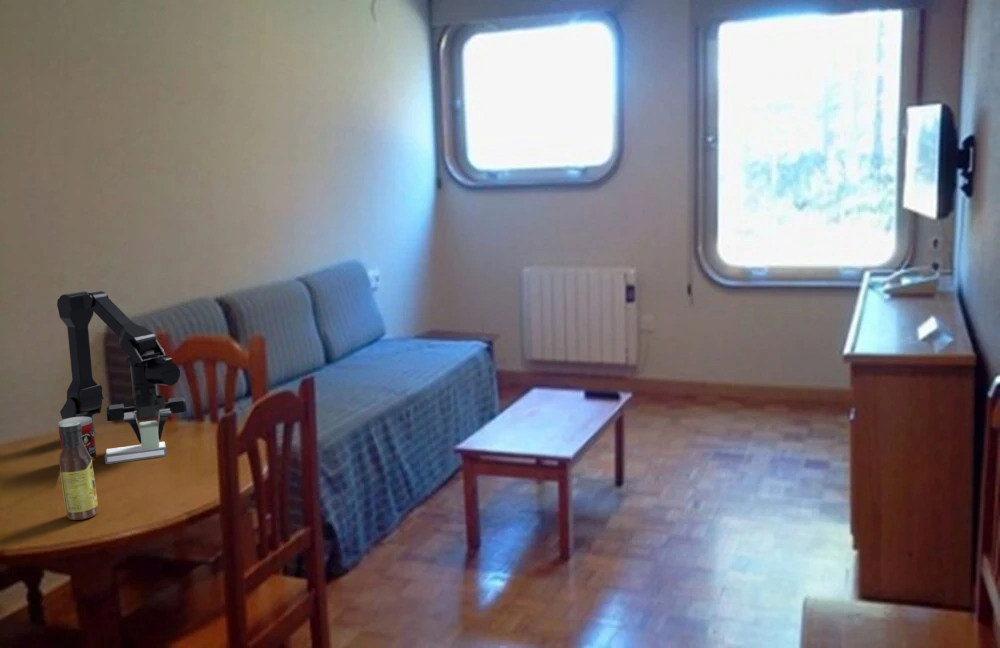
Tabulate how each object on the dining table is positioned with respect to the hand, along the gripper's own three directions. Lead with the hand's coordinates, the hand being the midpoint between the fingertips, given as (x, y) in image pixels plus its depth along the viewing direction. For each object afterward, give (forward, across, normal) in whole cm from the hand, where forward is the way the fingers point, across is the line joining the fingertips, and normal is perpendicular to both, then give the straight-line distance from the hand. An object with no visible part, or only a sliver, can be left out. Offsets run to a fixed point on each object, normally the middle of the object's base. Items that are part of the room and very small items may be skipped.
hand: (150, 441), depth 238 cm
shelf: (+2, -4, -3) cm, 5 cm away
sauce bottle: (+3, -14, -42) cm, 44 cm away
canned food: (+3, -16, -3) cm, 17 cm away
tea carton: (+2, 0, 0) cm, 2 cm away
